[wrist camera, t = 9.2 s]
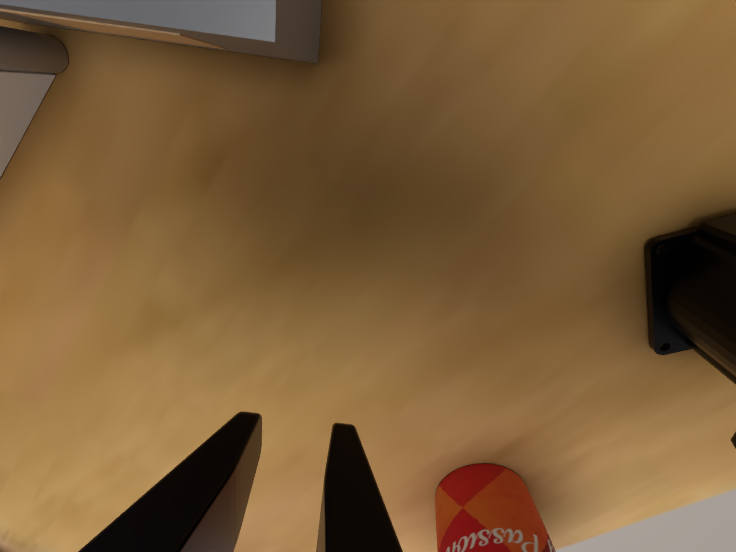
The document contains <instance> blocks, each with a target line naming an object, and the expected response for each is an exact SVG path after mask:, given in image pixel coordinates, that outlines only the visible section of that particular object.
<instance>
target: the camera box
mask: <svg viewBox="0 0 736 552" xmlns="http://www.w3.org/2000/svg"><path fill="white" fill-rule="evenodd" d="M321 9H322V0H0V19H5V20H10V21H15V22H20V23H27V24H34V25H41V26H49V27H56V28H63V29H70V30H78V31H85V32H92V33H100V34H107V35H114V36H121V37H129V38H136V39H143V40H151V41H158V42H165V43H172V44H180V45H187V46H194V47H201V48H209V49H216V50H223V51H231V52H238V53H245V54H252V55H260V56H267V57H274V58H282V59H289V60H296V61H303V62H311V63H318V57H319V41H320V25H321Z"/></svg>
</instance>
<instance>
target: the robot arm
mask: <svg viewBox="0 0 736 552" xmlns="http://www.w3.org/2000/svg"><path fill="white" fill-rule="evenodd" d="M661 245H662V249H661V250H660V251H658V252H656V250H657V248H658V247H659V246H661ZM645 255H646V276H647V297H648V317H649V338H650V347H651V348H652V349H653V350H654V351H655V352H656V353H657V354H659V355H666V354H671V353H675V352H680V351H684V350H689V349H693V350H694V351H696V352H697V353H698V354H699V355H700V356H702V357H703V358H704V359H705V360H707V361H708V362H709V363H710V364H711V365H713V366H714V367H715V368H716V369H718V370H719V371H720V372H721V373H722V374H724V375H725V376H726V377H727V378H729V379H730V380H731V381H732V382H733V383H735V384H736V213H735V214H731V215H727V216H723V217H720V218H716V219H712V220H708V221H705V222H703V223H701V224H700V225H698V227H694V228H690V229H687V230H683V231H679V232H675V233H671V234H668V235H664V236H660V237H656V238H654V239H652V240H651V241H649V242H648V244H647V245H646V249H645ZM663 343H665V344H664V345H663V346H661V345H662V344H663ZM731 441H732V443H733V445H734V446H735V448H736V432H735V434H734V435H733V437H732V438H731ZM261 446H262V417H261V415H260V414H258V413H251V412H239V413H237V414H236V415H235V416H234V417H233V418H232V419H230V420H229V421H228V422H227V423H226V424H225V425H224V426H222V427H221V428H220V429H219V430H218V431H217V432H215V433H214V434H213V435H212V436H211V437H210V438H209V439H207V440H206V441H205V442H204V443H203V444H202V445H200V446H199V447H198V448H197V449H196V450H195V451H194V452H192V453H191V454H190V455H189V456H188V457H187V458H186V459H184V460H183V461H182V462H181V463H180V464H179V465H177V466H176V467H175V468H174V469H173V470H172V471H171V472H169V473H168V474H167V475H166V476H165V477H164V478H162V479H161V480H160V481H159V482H158V483H157V484H156V485H154V486H153V487H152V488H151V489H150V490H149V491H147V492H146V493H145V494H144V495H143V496H142V497H141V498H139V499H138V500H137V501H136V502H135V503H134V504H133V505H131V506H130V507H129V508H128V509H127V510H126V511H124V512H123V513H122V514H121V515H120V516H119V517H118V518H116V519H115V520H114V521H113V522H112V523H111V524H109V525H108V526H107V527H106V528H105V529H104V530H103V531H101V532H100V533H99V534H98V535H97V536H96V537H95V538H93V539H92V540H91V541H90V542H89V543H88V544H86V545H85V546H84V547H83V548H82V549H81V550H80V551H78V552H233V551H234V548H235V545H236V542H237V539H238V536H239V532H240V529H241V526H242V522H243V518H244V514H245V511H246V507H247V503H248V499H249V495H250V492H251V488H252V484H253V480H254V477H255V473H256V469H257V465H258V461H259V458H260V453H261ZM316 552H403V551H402V549H401V546H400V543H399V541H398V538H397V536H396V533H395V530H394V528H393V525H392V522H391V520H390V517H389V515H388V512H387V509H386V507H385V504H384V501H383V499H382V496H381V494H380V491H379V488H378V486H377V483H376V480H375V478H374V475H373V473H372V470H371V467H370V465H369V462H368V459H367V457H366V454H365V452H364V449H363V446H362V444H361V441H360V438H359V436H358V433H357V431H356V428H355V427H354V426H353V425H351V424H343V423H334V424H333V427H332V432H331V438H330V445H329V451H328V457H327V463H326V469H325V477H324V486H323V495H322V504H321V513H320V522H319V531H318V540H317V549H316Z"/></svg>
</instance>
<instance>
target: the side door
mask: <svg viewBox="0 0 736 552" xmlns="http://www.w3.org/2000/svg"><path fill="white" fill-rule="evenodd" d="M67 65H68V55H67V52H66V49H65V48H64V46H63V45H62V43H61V42H60V41H59V40H58V39H56V38H55V37H53V36H50V35H46V34H41V33H35V32H30V31H24V30H19V29H13V28H8V27H2V26H0V178H1V176H2V174H3V172H4V170H5V168H6V166H7V165H8V163H9V161H10V159H11V157H12V155H13V153H14V152H15V150H16V148H17V146H18V144H19V142H20V141H21V139H22V137H23V135H24V133H25V131H26V129H27V128H28V126H29V124H30V122H31V120H32V118H33V116H34V115H35V113H36V111H37V109H38V107H39V105H40V104H41V102H42V100H43V98H44V96H45V94H46V92H47V91H48V89H49V87H50V85H51V83H52V81H53V79H54V78H55V76H56V75H54V74H53V73H61V72H63V71H64V70H65V69H66V67H67Z"/></svg>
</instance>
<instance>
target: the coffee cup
mask: <svg viewBox="0 0 736 552" xmlns="http://www.w3.org/2000/svg"><path fill="white" fill-rule="evenodd" d="M435 506H436V531H437V549H438V552H556V551H555V549H554V547H553V544H552V542H551V540H550V538H549V535H548V533H547V531H546V528H545V526H544V524H543V522H542V519H541V517H540V515H539V513H538V511H537V508H536V506H535V504H534V502H533V500H532V497H531V495H530V493H529V491H528V489H527V487H526V485H525V484H524V482H523V480H522V479H521V478H520V477H519V476H518V475H517V474H516V473H515V472H513V471H512V470H510V469H508V468H505V467H502V466H499V465H494V464H474V465H469V466H465V467H462V468H459V469H457V470H455V471H453V472H451V473H450V474H448V475H447V476H446V477H445V478H444V479H443V480H442V481H441V482H440V484H439V486H438V488H437V491H436V499H435Z"/></svg>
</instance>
